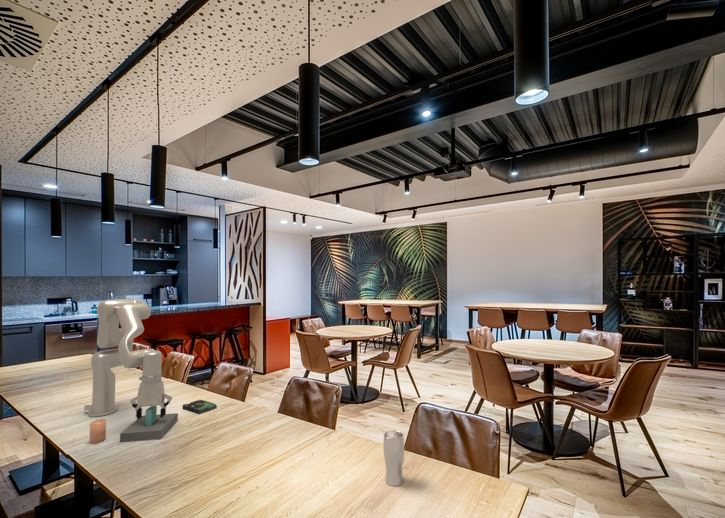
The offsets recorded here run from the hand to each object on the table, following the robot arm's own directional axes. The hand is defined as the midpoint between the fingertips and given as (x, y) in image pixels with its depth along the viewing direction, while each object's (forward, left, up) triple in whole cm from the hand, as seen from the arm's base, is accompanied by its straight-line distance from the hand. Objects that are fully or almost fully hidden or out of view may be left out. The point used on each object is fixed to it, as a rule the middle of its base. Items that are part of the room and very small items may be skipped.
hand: (150, 417), depth 160 cm
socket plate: (0, 0, -6) cm, 6 cm away
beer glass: (+98, -59, -6) cm, 115 cm away
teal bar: (0, 0, -6) cm, 6 cm away
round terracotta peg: (-18, -7, -6) cm, 20 cm away
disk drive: (+14, +25, -7) cm, 29 cm away
